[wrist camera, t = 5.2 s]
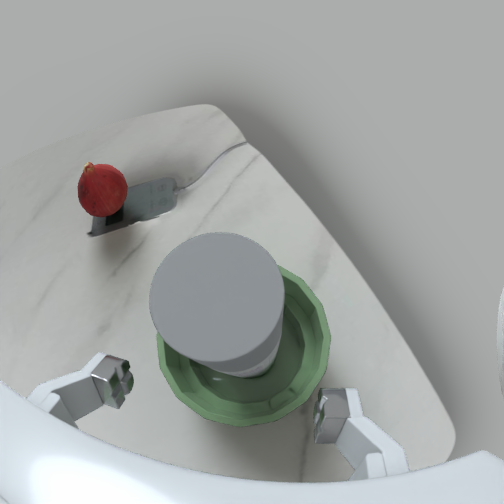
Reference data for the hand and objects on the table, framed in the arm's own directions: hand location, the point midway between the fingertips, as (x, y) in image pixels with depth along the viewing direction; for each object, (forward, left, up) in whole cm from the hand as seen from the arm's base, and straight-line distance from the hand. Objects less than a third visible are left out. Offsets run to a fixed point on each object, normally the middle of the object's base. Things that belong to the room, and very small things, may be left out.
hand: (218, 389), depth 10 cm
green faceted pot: (0, -3, -12) cm, 12 cm away
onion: (+19, -15, -12) cm, 27 cm away
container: (0, -3, -12) cm, 12 cm away
